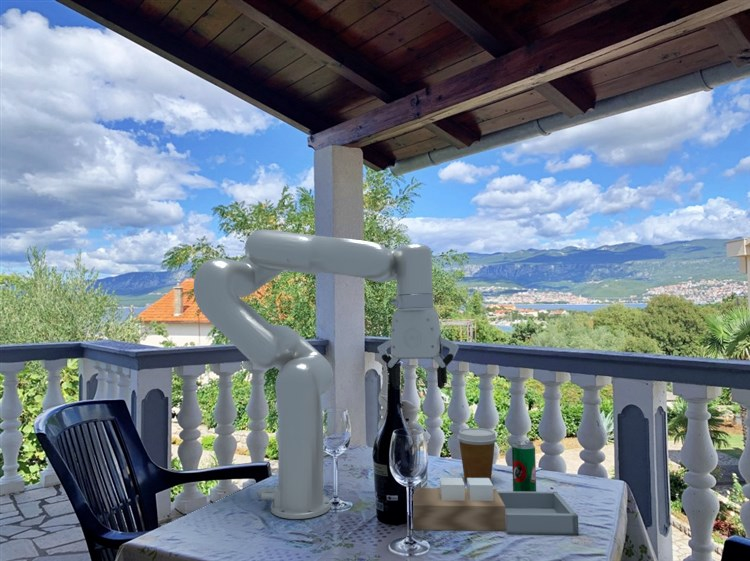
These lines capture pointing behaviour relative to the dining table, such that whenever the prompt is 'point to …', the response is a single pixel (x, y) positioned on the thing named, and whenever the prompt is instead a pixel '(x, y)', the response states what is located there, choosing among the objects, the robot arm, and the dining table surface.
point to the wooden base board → (456, 512)
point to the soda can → (524, 466)
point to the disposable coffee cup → (477, 452)
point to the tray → (538, 513)
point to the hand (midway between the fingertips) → (418, 386)
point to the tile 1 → (452, 489)
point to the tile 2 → (479, 489)
